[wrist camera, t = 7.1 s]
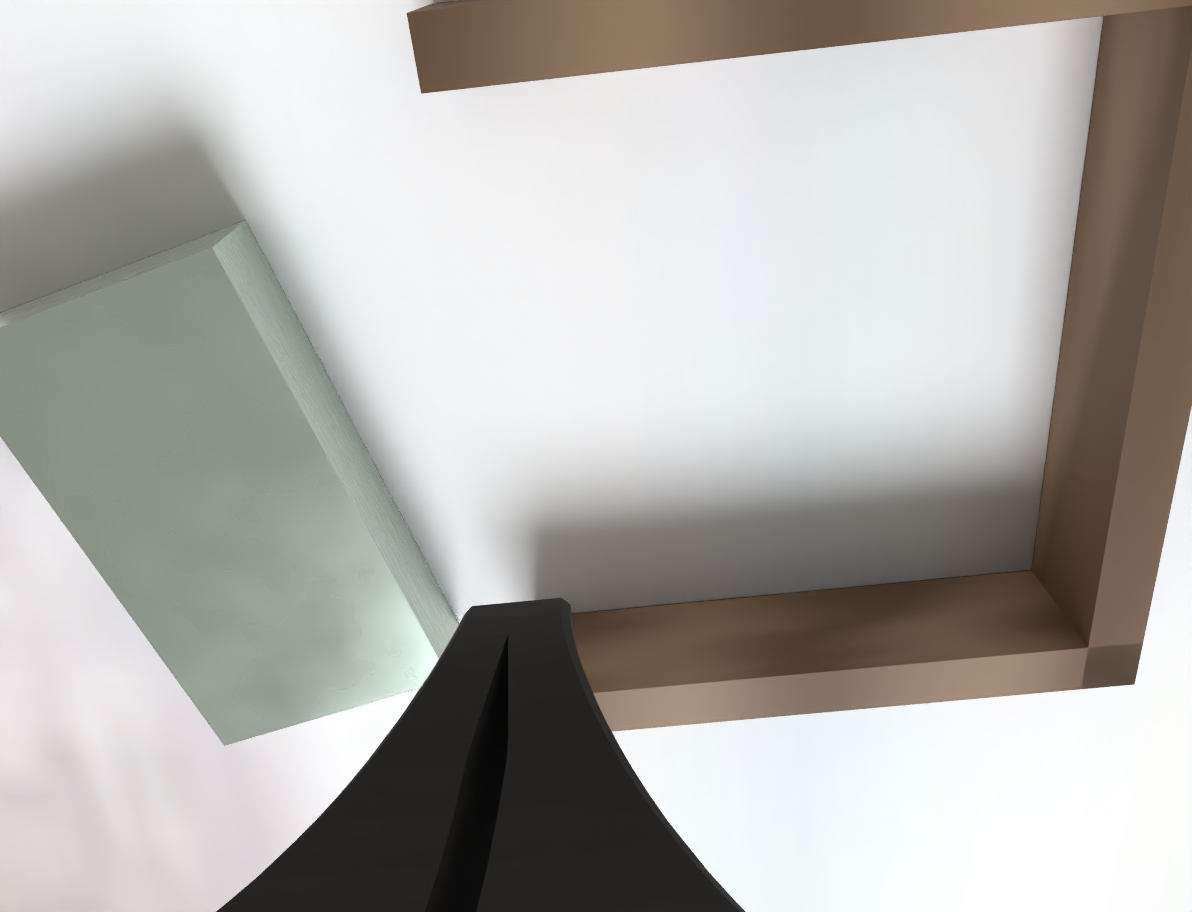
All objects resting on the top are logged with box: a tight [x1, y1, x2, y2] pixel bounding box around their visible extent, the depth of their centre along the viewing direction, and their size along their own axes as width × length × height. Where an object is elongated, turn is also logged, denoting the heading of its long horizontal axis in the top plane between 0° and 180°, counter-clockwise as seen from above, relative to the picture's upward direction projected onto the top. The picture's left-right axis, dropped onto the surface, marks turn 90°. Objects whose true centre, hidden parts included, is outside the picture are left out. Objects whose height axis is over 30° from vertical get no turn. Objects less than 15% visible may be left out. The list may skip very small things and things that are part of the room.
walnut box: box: [407, 0, 1192, 731], centre depth 20 cm, size 14×15×3 cm
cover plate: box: [0, 220, 459, 746], centre depth 22 cm, size 6×11×2 cm, turn 20°
